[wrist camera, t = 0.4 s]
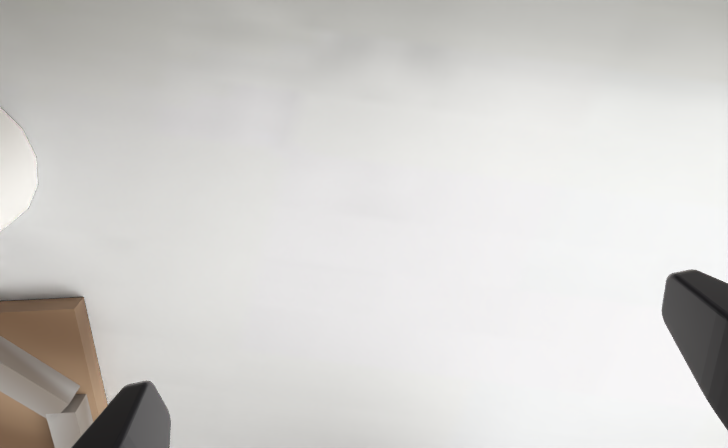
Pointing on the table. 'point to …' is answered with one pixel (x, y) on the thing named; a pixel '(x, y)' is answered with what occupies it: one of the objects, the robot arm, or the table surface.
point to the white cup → (15, 171)
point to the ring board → (47, 373)
